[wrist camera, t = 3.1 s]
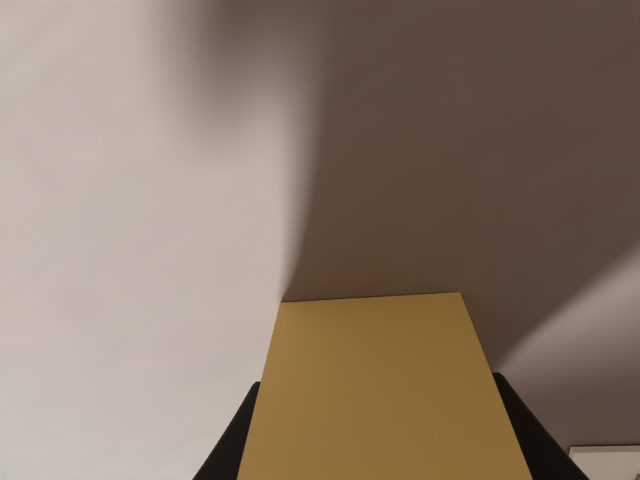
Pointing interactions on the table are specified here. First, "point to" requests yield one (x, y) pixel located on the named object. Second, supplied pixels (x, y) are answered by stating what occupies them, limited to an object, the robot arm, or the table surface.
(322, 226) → the table surface
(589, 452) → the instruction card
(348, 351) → the top brick
